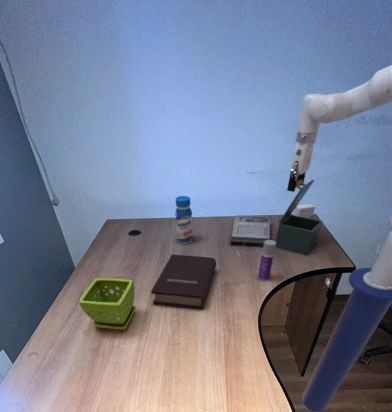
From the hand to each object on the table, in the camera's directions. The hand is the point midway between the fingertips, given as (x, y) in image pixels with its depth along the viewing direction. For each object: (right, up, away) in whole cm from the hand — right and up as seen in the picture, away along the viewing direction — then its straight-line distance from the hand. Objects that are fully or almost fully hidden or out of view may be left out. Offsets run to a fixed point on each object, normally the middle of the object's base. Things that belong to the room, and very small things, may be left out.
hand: (295, 188), depth 115 cm
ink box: (+13, -6, +28) cm, 31 cm away
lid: (+2, -5, +3) cm, 6 cm away
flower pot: (-71, -60, -21) cm, 96 cm away
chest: (+6, -19, +15) cm, 25 cm away
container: (-15, -40, -4) cm, 43 cm away
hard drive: (-14, -10, +25) cm, 30 cm away
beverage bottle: (-49, -14, +22) cm, 55 cm away
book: (-47, -45, -7) cm, 65 cm away
